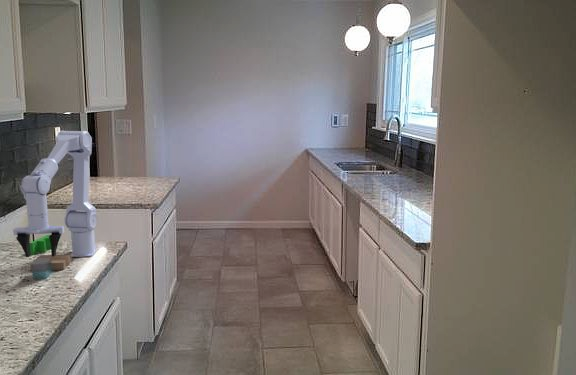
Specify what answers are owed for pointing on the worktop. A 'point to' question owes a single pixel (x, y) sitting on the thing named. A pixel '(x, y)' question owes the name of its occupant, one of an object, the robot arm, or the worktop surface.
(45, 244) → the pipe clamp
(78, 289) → the worktop surface
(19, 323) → the worktop surface
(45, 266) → the block
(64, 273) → the worktop surface
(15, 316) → the worktop surface
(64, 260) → the tan flat block
